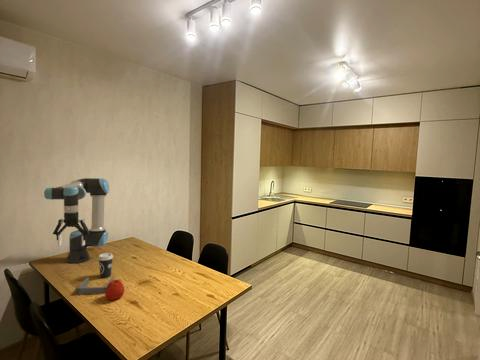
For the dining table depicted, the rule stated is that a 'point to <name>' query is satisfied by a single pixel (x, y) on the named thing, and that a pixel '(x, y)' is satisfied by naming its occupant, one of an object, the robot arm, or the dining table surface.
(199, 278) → the dining table surface
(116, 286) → the apple
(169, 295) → the dining table surface
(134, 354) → the dining table surface
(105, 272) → the coffee cup
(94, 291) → the bay
